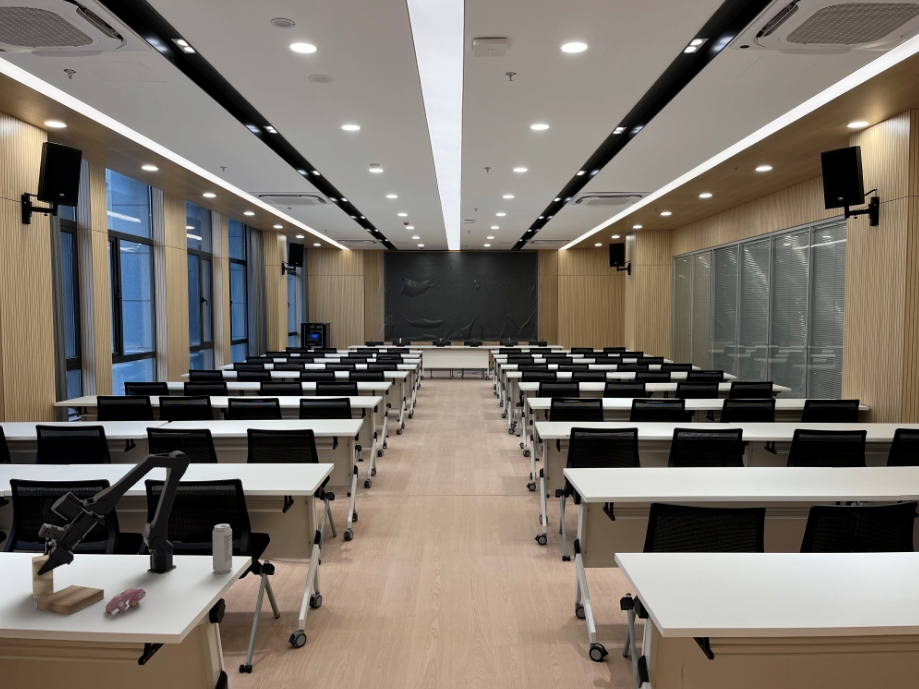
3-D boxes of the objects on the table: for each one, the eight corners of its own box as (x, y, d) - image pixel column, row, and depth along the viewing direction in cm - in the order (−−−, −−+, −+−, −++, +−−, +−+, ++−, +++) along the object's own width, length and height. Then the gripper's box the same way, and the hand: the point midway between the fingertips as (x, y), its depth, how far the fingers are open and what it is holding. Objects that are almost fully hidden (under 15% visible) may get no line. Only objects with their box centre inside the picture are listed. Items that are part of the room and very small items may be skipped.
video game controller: (111, 620, 186) (117, 601, 184) (102, 610, 188) (108, 590, 187) (143, 608, 195) (150, 589, 193) (135, 598, 197) (141, 579, 195)
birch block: (51, 589, 205) (51, 554, 204) (53, 594, 201) (52, 558, 200) (32, 593, 202) (32, 557, 201) (34, 598, 198) (33, 562, 197)
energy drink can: (219, 566, 224) (218, 522, 223) (235, 568, 222) (235, 523, 222) (209, 573, 218) (208, 527, 217) (226, 574, 216) (225, 529, 216)
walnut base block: (103, 597, 198) (103, 589, 198) (69, 614, 187) (69, 605, 187) (72, 593, 202) (72, 584, 202) (36, 609, 190) (36, 600, 190)
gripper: (53, 506, 210) (12, 548, 204) (60, 520, 195) (15, 566, 189) (82, 527, 215) (43, 568, 209) (91, 542, 200) (48, 586, 194)
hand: (37, 571), depth 200 cm, fingers open, 6 cm apart
